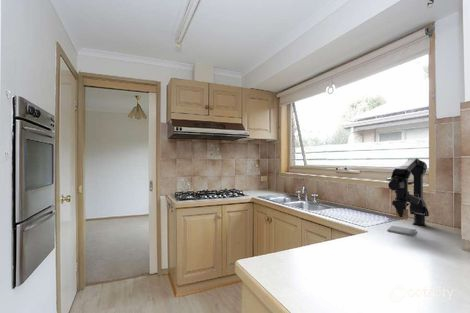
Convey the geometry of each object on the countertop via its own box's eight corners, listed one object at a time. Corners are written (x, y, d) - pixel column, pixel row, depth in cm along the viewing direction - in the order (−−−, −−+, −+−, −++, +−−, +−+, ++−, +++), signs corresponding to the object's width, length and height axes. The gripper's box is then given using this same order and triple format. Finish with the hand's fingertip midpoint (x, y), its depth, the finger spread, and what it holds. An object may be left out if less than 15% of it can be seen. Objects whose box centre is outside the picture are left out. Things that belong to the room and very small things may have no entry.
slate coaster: (392, 227, 145) (392, 225, 145) (416, 231, 137) (416, 229, 137) (387, 231, 137) (387, 229, 137) (413, 236, 128) (413, 234, 128)
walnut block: (397, 216, 140) (397, 208, 140) (408, 218, 137) (408, 209, 137) (396, 218, 137) (395, 209, 137) (406, 219, 133) (406, 210, 133)
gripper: (416, 192, 125) (416, 222, 125) (421, 189, 138) (421, 215, 138) (391, 190, 133) (392, 218, 132) (398, 187, 146) (398, 212, 146)
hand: (402, 216), depth 137 cm, fingers closed on walnut block, 5 cm apart
